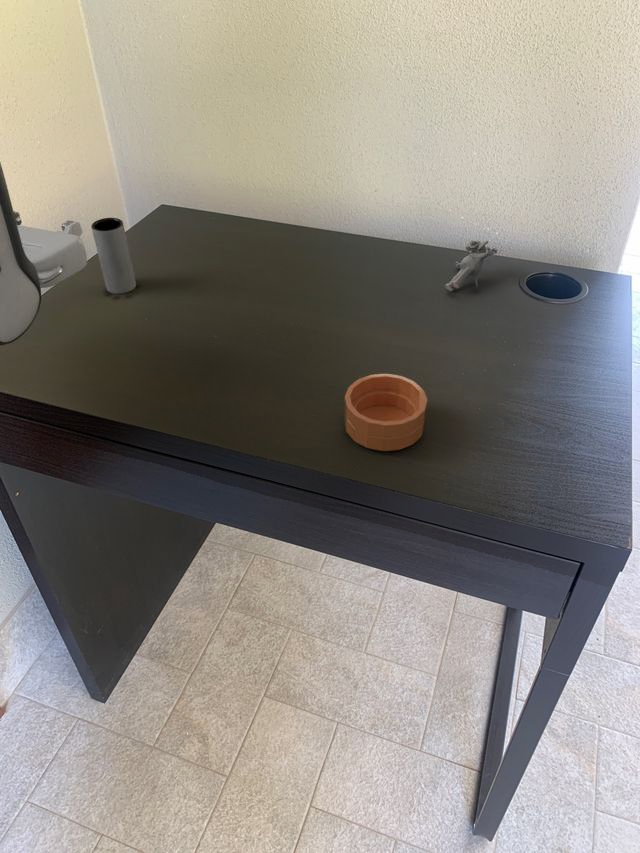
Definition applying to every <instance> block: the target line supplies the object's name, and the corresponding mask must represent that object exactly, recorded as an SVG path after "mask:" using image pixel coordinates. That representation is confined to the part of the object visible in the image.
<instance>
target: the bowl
mask: <svg viewBox="0 0 640 853" xmlns="http://www.w3.org/2000/svg"><path fill="white" fill-rule="evenodd" d="M427 409H428V398H427V394H426V392H425V389H423V388H422V387H421V386H420V385H419V384H418V383H417V382H415V381H414V380H412V379H410V378H407V377H405V376H403V375H399V374H392V373H375V374H369V375H366V376H364V377H361V378H358V379H356V380H355V381H354V382H353V383H352V384H351V385H349V386H348V388H347V390H346V392H345V395H344V412H343V413H344V415H343V416H344V418H343V419H344V420H343V424H344V427H345V432H346V433H347V435H348V436H349V437H350V438H351V439H352V440H353V441H354V442H355V443H356V444H358V445H361V446H362V447H364V448H367V449H370V450H374V451H380V452H391V451H399V450H402V449H406V448H408V447H410V446H413V445H414V444H415V443H416V442H417V441H418V440H419V439H420V438H421V437H422V436H423V434H424V430H425V426H426V419H427V418H426V417H427Z"/></svg>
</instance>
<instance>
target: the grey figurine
mask: <svg viewBox="0 0 640 853" xmlns="http://www.w3.org/2000/svg"><path fill="white" fill-rule="evenodd" d="M487 244H489V241H488V240H483V241H482V242H481V241H479V240H477V241H476V240H468V242H467V244H466V242H463V247H464V249H465V251H468V253H469V255H467V256H465V257H464V258H463V259H462V260H461V262H458V261H455V267H456V268H457V269H460V270H459V271H458V272H457V274H456V275H455V276H453V277H452V279H451V280H450V282H448V283H446V284H445V285H444V287H445V288H446V290H448V291H449V292H451V293H452V292H453V291H454V290H455V289H459V290H460V288H461V287H462V285H463V284H464V282H465V280H466V279H467V278H469V277H472V278H474V282H475V286H476V288H478V280H479V273H480V271H481V269H482V267H483V264H484V260H485V259H486V258H487V257H490V256H493V255H495V254H497V253H498V249H497V248H495V247H494V248H490V247H489V246H486V245H487Z"/></svg>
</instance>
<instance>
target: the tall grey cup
mask: <svg viewBox="0 0 640 853" xmlns="http://www.w3.org/2000/svg"><path fill="white" fill-rule="evenodd" d="M124 224H125V223H124V221H123V220H122V219H120V218H117V217H103V218H100V219H97V220H95V221H93V223H91V231H92V236H93V241H94V245H95V248H96V252H97V256H98V260H99V264H100V268H101V272H102V276H103V280H104V284H105V288H106V290H107V292H109V293H111V294H114V295H121V294H126V293H129V292H131V291H134V289H135V288H136V286H137V281H136V276H135V272H134V268H133V267H134V266H133V263H132V258H131V252H130V248H129V244H128V240H127V235H126V234H127V233H126V230H125V225H124Z"/></svg>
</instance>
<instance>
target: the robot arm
mask: <svg viewBox="0 0 640 853" xmlns="http://www.w3.org/2000/svg"><path fill="white" fill-rule="evenodd" d="M81 226H82V225H81V223H80V222H79V221H73V220H67V221H66V222H63V223H62V224H60V227H61V231H59V230H58V231H53V230H48V229H43V228H37V227H31V226H26V225H22V218H21V215H20V213H19V211H14V208H13V204H12V201H11V197H10V193H9V189H8V185H7V181H6V178H5V173H4V170H3V166H2V163H1V162H0V347H1V346H5V345H10V344H12V343H14V342H15V341H17V340H19V339H20V338H21V337H23V335H25V333H26V332H27V331H28V330H29V329H30V327H31V326H32V324H33V323H34V321H35V320H36V317H37V316H38V313H39V310H40V307H41V304H42V289H44V288H51V287H53V286H56V285H58V284H60V283H62V282H64V281H65V280H68V279H69V278H70V277H72V276H74V275H76V274H77V273H79V272H80V271H82V270H84V269H85V268H86V267H87V265H88V257H87V256H88V255H87V253H86V252H87V251H86V248H85V245H84V241H83V239H82V238H81V236H82V234H83V230H82V229H83V228H82V227H81Z"/></svg>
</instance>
